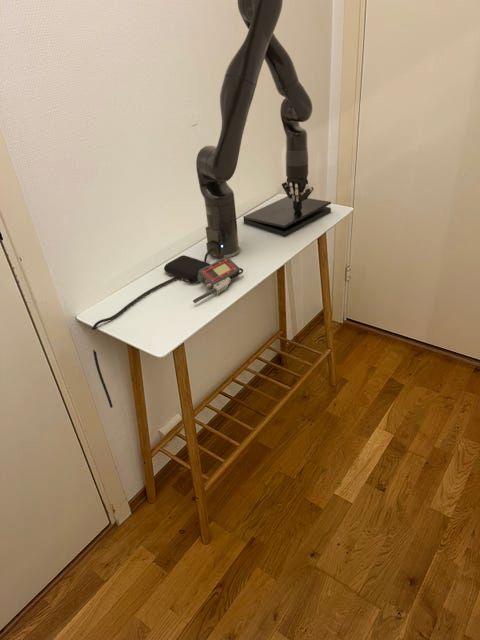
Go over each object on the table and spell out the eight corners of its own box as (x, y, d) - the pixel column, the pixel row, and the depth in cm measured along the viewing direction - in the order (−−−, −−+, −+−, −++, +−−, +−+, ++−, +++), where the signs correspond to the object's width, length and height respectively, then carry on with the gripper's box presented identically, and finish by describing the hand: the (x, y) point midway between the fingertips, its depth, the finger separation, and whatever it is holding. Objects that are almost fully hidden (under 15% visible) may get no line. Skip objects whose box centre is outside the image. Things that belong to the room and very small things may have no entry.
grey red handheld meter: (249, 272, 131) (196, 301, 120) (246, 282, 134) (194, 311, 123) (229, 253, 133) (176, 280, 123) (226, 263, 137) (174, 290, 126)
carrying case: (159, 274, 139) (193, 287, 130) (157, 266, 137) (191, 278, 129) (184, 260, 145) (217, 272, 137) (182, 252, 143) (216, 263, 135)
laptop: (330, 212, 167) (330, 207, 166) (284, 236, 153) (284, 231, 152) (289, 201, 180) (289, 197, 179) (243, 223, 166) (243, 218, 165)
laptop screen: (330, 204, 165) (330, 201, 165) (284, 228, 151) (284, 225, 151) (289, 197, 179) (289, 195, 178) (243, 218, 165) (243, 216, 164)
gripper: (274, 162, 154) (276, 210, 163) (305, 167, 145) (305, 218, 155) (289, 156, 158) (290, 203, 167) (319, 161, 149) (318, 211, 159)
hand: (297, 210), depth 161 cm, fingers closed
